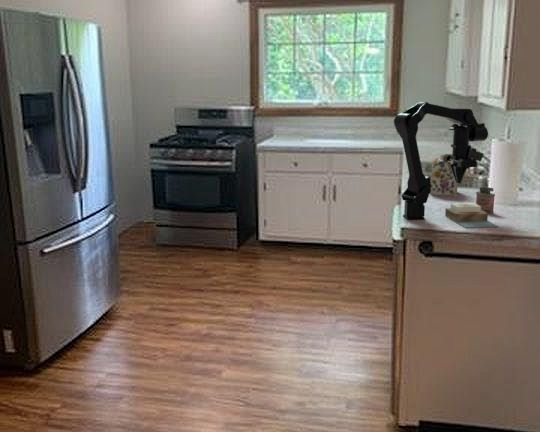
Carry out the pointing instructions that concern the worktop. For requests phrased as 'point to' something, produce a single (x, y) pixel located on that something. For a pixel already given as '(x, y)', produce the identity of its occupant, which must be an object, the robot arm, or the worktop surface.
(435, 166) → the decorative jar
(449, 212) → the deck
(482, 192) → the lighter
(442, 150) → the worktop surface
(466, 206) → the rectangular block
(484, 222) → the mat
